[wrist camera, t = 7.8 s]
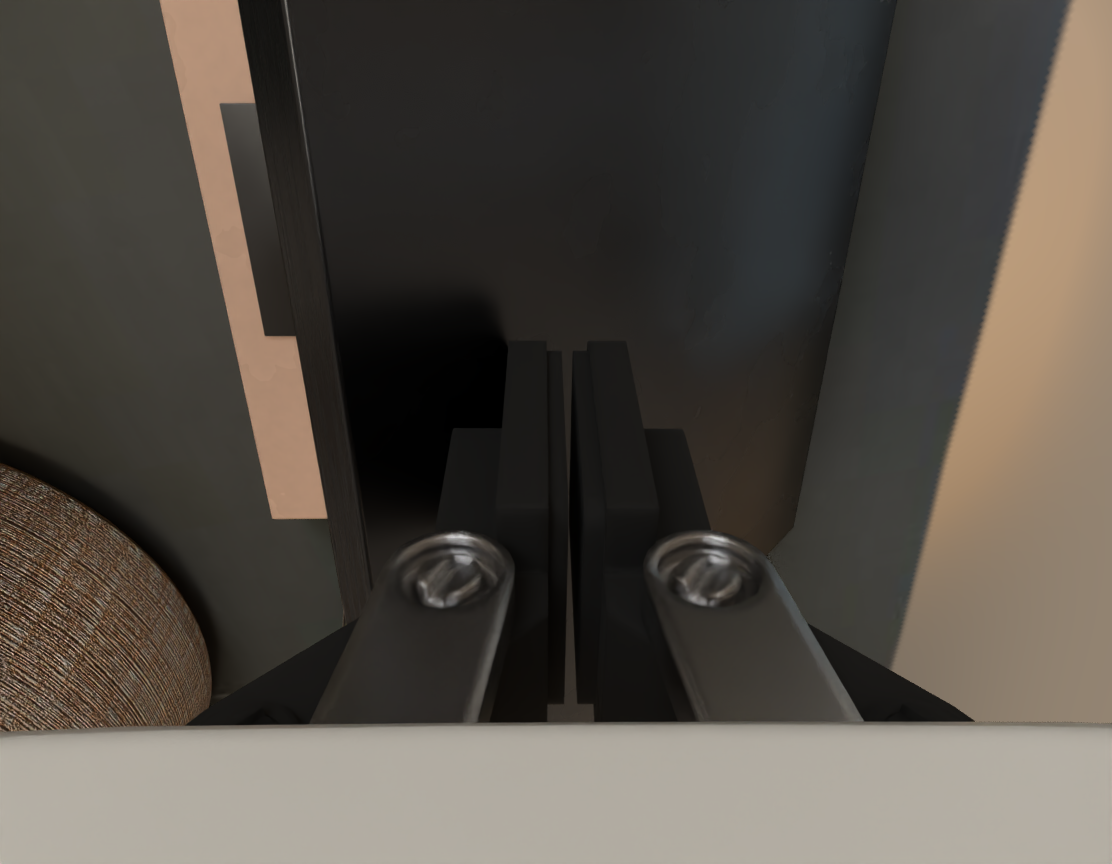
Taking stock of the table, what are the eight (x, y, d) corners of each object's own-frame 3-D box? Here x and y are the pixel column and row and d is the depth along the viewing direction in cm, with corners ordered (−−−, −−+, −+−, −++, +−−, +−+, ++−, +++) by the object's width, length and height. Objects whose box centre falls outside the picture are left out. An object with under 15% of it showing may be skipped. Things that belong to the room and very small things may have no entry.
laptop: (286, 485, 27) (270, 522, 25) (142, -229, 17) (102, -244, 16) (753, 481, 27) (767, 517, 25) (865, -222, 18) (899, -235, 16)
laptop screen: (387, 890, 16) (420, 922, 15) (142, -480, 6) (208, -514, 6) (767, 515, 25) (794, 527, 25) (897, -235, 16) (945, -239, 16)
